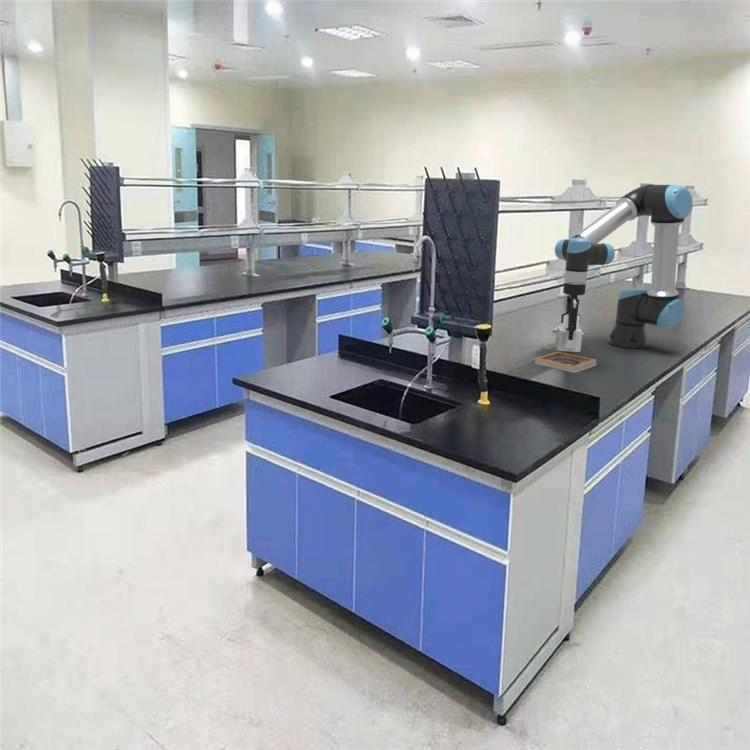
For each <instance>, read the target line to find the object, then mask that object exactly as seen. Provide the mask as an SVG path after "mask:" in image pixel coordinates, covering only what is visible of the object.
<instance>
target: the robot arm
mask: <svg viewBox="0 0 750 750" xmlns="http://www.w3.org/2000/svg"><path fill="white" fill-rule="evenodd" d="M692 209H693V197H692V193H691V191H690V190H689V189H688V187H685V186H683V185H677V184H652V183H651V184H649V183H648V184H645V185H642V186H639V187H637V188H634V189H633V190H631V191H629V192H627V193H626V194H625V195H623V196H622V197H620V198H619V199H618V200H617V201H616V203H615V205H614V206H612V207H611V208H609V210H607V211H606V212H604V213H603V214H602V215H600V217H598V218H596V219H594V221H593V222H591V223H590V224H588V225H587V226H585V227H584V228H583V229H582V230H580V231H579V232H577V233H576V234H575V235H574V236H572V237H571V238H569V239H567V238H565V239H564V238H563V239H560V240H558V241H557V243H556V244H555V247H554V254H555V256H556V258H557V259H559V260H564V261H566V262H565V272H563V273H562V275H563V276H564V280H563V281H564V283H563V289H562V293H563V294H566V295H568V296H567V297H566V307H565V308H566V309H565V313H569V319H568V329H567V328H566V330H567V335H566V344H565V348H568V349H573V345H574V336H575V330H576V324H577V314H578V313H579V304H580V300H579V298H578V297H579V296H584V295H585V294H586V287H587V285H586V283H587V282H588V281H587V279H588V269H589V266H605V265H606V266H607V265H609V264H611V263H612V262H613V261H614V259H615V255H616V252H615V248H614V247H613V245H612V244H610V243H603V242H602V243H600V242H601V241H603V240H604V239H606V238H607V237H608V236H609V235H611V234H613V232H615V231H616V230H617V229H618V228H620V227H621V226H623V225H624V224H625V223H627V222H628V221H630V222H631V221H634V220H635V219H636V218H638V217H641V216H646V217H647V216H648V217H650V223H651V225H653V227H654V232H653V233H654V234H653V251H652V252H653V254H652V266H651V272H652V273H651V283H650V284H651V286H650V289H648V288H647V289H646V288H645V289H644V288H643V289H640V288H637V289H636V288H635V289H622V290H621V291H620V292H619V295H618V299H617V307H616V313H615V315H616V317H615V324H614V326H613V329H612V330H611V333H610V335H609V337H608V342H609V343H610V344H609V343H608V344H609V345H611V344H612V346H614V345H615V347H618V346H619V348H623V347H625V349H636V348H637V349H645V348H647V346H648V337H647V333H646V324H647V325H651V326H656V327H658V328H667V329H668V328H669V329H671V328H673V327H675V326H676V325H678V323H679V322H680V321H681V320H682V318H683V316H684V313H685V308H686V307H685V304H684V303H685V302H683V300H682V299H680V298H679V294H680V293H679V291H678V290H677V288H676V279H677V278H676V277H677V275H676V274H677V264H678V249H679V248H678V247H679V238H680V237H679V235H680V234H679V233H680V232H679V231H680V226H681V225H682V224H684V222H685V218H687V217H688V216H689V215H690V214H691V211H692ZM571 326H574V327H571Z"/></svg>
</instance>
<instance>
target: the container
mask: <svg viewBox="0 0 750 750" xmlns="http://www.w3.org/2000/svg"><path fill="white" fill-rule="evenodd" d="M581 317H582V316H581V315H580V314H578V313H577V324H576V330H575V336H574V345H573V349H568V348H565V344H566V335H567V330H566V328H567V329H568V319H569V313H566V312H564V313H562V314H561V321H560V325H557V327H556V335H555V343H554V344H555V347H556V349H557V350H558V352H571V353H572V352H573V353H575V352H576V353H579V352H580V353H581V348H582V338H583V330H582V328H580V326H581V325H580V324H581ZM571 327H574V326H571Z"/></svg>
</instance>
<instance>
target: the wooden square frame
mask: <svg viewBox="0 0 750 750" xmlns="http://www.w3.org/2000/svg"><path fill="white" fill-rule="evenodd" d="M534 364H535V365H538V366H542V367H546V368H547V367H548V368H551V369H556V370H559V371H560V370H561V371H564V372H568V373H573V374H576V373H579V372H582V371H585V370H587V369H588V370H589V369H591V368H593V367H596V366H597V359H595V358H589V357H585V356H580V355H577V354H576V355H575V354H572V353H566V352H563V351H555V352H552V353H549V354H545V355H543V356H539V357H536V358H535V361H534Z"/></svg>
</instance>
